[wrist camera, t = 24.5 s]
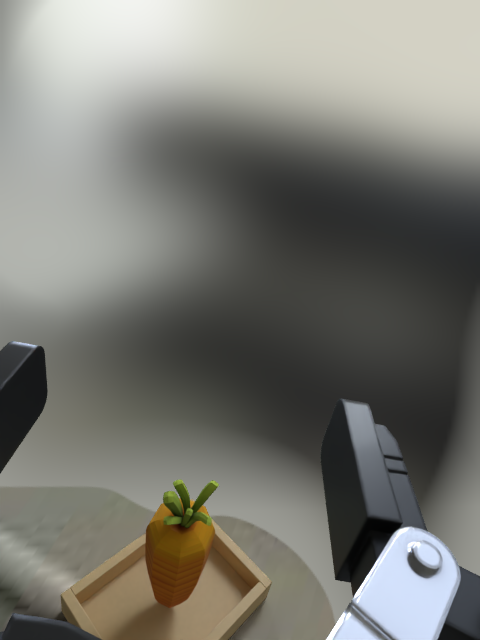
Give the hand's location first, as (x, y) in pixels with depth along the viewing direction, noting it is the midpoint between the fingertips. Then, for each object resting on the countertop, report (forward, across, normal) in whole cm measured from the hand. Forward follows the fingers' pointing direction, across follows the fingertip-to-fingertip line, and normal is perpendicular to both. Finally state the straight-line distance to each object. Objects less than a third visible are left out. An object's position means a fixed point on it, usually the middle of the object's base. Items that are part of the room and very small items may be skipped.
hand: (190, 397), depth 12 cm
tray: (+10, 0, -32) cm, 34 cm away
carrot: (+10, 0, -32) cm, 33 cm away
